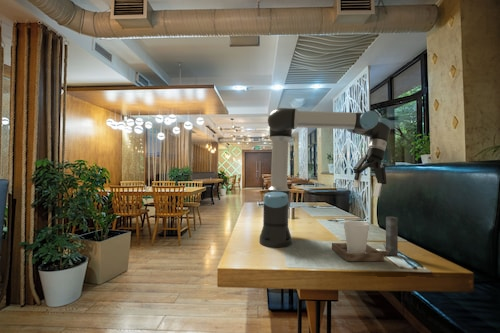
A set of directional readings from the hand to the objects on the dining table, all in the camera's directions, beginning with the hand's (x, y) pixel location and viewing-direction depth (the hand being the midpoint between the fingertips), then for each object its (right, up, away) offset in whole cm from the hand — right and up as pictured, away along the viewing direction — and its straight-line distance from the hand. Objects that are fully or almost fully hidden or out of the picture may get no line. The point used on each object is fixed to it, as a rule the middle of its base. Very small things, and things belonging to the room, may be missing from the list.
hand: (366, 192), depth 114 cm
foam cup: (-11, -24, -15) cm, 31 cm away
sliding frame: (-7, -24, -15) cm, 29 cm away
